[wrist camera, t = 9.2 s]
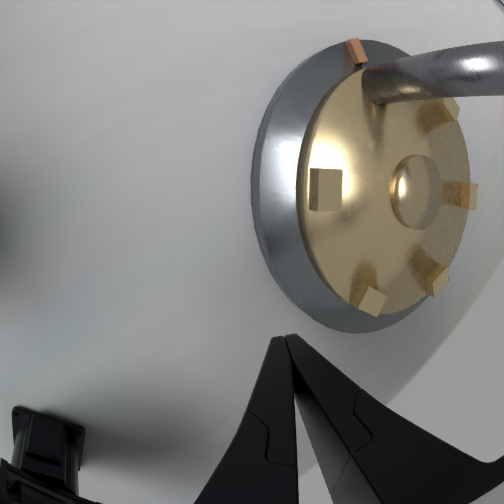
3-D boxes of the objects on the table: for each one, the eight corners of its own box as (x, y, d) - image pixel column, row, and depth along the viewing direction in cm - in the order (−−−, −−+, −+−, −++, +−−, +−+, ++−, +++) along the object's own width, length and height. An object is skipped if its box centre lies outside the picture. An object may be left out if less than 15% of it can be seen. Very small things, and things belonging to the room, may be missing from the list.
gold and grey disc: (404, 341, 32) (417, 349, 30) (191, 284, 21) (198, 296, 19) (473, 144, 30) (487, 145, 28) (324, -9, 19) (339, -18, 17)
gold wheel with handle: (470, 226, 30) (558, 252, 19) (351, 352, 26) (454, 429, 15) (420, 47, 22) (531, 31, 11) (239, 125, 18) (407, 80, 7)
